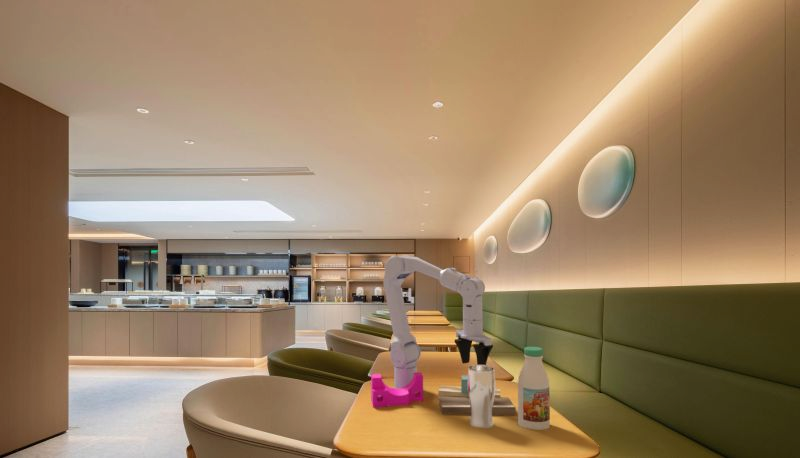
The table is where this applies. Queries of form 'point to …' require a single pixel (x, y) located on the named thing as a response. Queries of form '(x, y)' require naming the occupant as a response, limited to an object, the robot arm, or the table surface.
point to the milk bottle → (533, 392)
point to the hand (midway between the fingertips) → (473, 365)
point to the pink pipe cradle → (395, 392)
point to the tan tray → (456, 392)
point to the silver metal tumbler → (481, 395)
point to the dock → (463, 407)
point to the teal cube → (464, 384)
